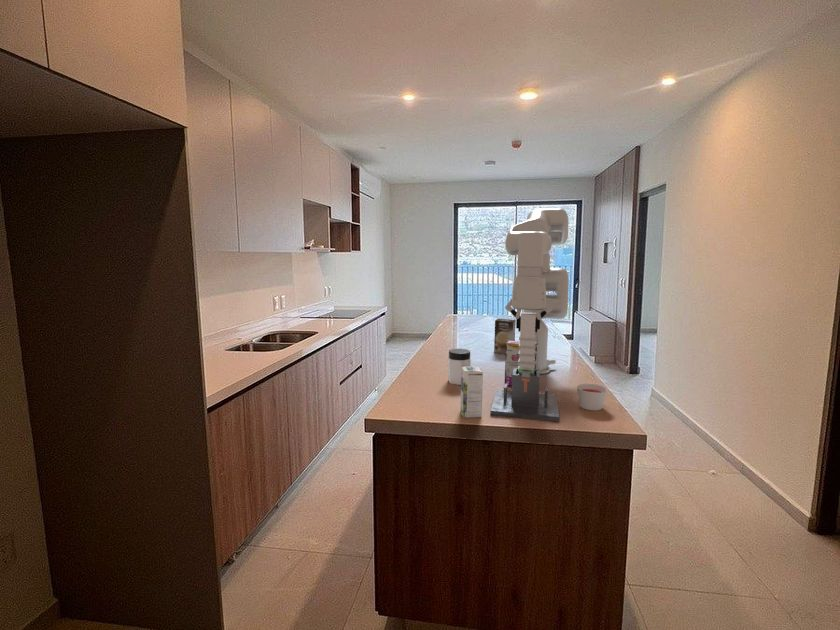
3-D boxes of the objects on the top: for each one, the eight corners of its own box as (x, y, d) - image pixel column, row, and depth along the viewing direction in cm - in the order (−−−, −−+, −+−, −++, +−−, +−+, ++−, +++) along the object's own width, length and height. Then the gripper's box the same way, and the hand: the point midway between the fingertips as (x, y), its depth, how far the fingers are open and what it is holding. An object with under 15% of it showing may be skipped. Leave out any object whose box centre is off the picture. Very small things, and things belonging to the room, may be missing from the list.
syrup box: (459, 411, 135) (460, 366, 133) (478, 410, 136) (479, 365, 134) (463, 418, 130) (463, 371, 127) (482, 417, 130) (483, 371, 128)
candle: (576, 400, 144) (577, 382, 143) (605, 404, 141) (606, 385, 140) (575, 410, 136) (576, 390, 135) (606, 413, 133) (607, 394, 132)
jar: (456, 386, 159) (456, 354, 157) (443, 380, 166) (443, 350, 164) (475, 382, 164) (475, 351, 162) (461, 377, 171) (462, 347, 169)
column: (534, 380, 139) (536, 312, 136) (533, 385, 135) (536, 315, 131) (518, 379, 141) (520, 312, 137) (517, 383, 136) (519, 314, 132)
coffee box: (493, 352, 210) (494, 320, 207) (496, 350, 215) (497, 318, 213) (512, 354, 206) (513, 321, 203) (515, 351, 212) (516, 319, 209)
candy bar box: (504, 386, 159) (505, 342, 157) (506, 382, 164) (507, 340, 162) (535, 389, 156) (537, 345, 153) (536, 385, 160) (538, 342, 158)
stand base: (556, 399, 146) (558, 362, 144) (559, 421, 127) (561, 380, 125) (496, 394, 151) (497, 358, 149) (490, 415, 132) (491, 375, 130)
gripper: (558, 272, 133) (555, 330, 136) (502, 271, 138) (501, 327, 141) (559, 273, 126) (556, 335, 129) (500, 273, 131) (499, 332, 134)
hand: (527, 330), depth 135 cm, fingers closed on column, 4 cm apart
